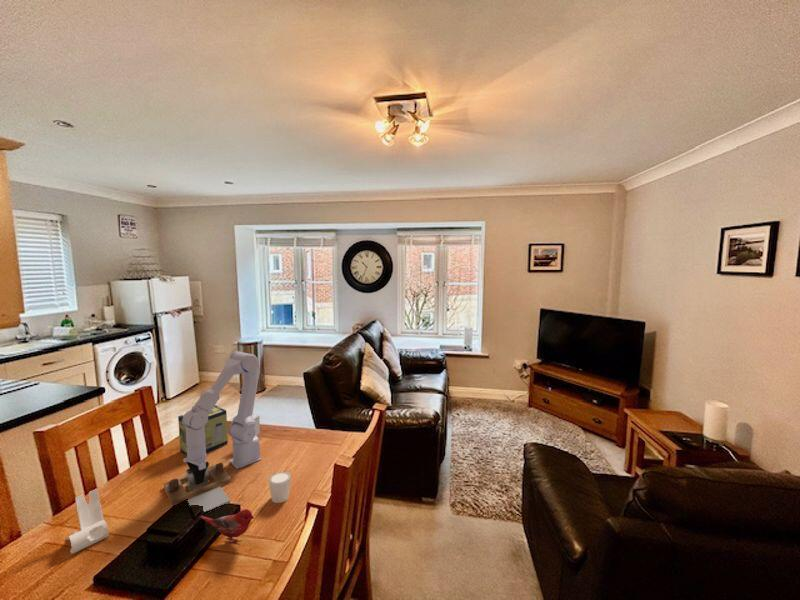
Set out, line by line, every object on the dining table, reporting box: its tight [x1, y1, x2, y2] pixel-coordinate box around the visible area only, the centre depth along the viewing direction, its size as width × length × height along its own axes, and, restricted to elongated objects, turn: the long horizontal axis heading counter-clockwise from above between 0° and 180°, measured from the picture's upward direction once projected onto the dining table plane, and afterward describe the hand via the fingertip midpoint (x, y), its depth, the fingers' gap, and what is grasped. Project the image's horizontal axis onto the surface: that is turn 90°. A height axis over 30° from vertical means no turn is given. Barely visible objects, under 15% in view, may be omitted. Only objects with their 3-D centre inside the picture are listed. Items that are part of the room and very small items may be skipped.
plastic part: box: [65, 488, 109, 555], centre depth 94 cm, size 8×10×12 cm
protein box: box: [177, 404, 229, 457], centre depth 144 cm, size 10×16×16 cm
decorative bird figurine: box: [198, 508, 255, 543], centre depth 94 cm, size 3×18×10 cm, turn 80°
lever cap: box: [185, 468, 210, 492], centre depth 119 cm, size 6×4×6 cm, turn 135°
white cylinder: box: [268, 471, 291, 504], centre depth 112 cm, size 7×7×7 cm
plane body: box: [163, 462, 232, 507], centre depth 119 cm, size 18×13×4 cm
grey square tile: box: [186, 486, 231, 512], centre depth 110 cm, size 10×10×1 cm
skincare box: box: [252, 414, 261, 442], centre depth 148 cm, size 6×4×12 cm
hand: (197, 480), depth 119 cm, fingers closed on lever cap, 4 cm apart
